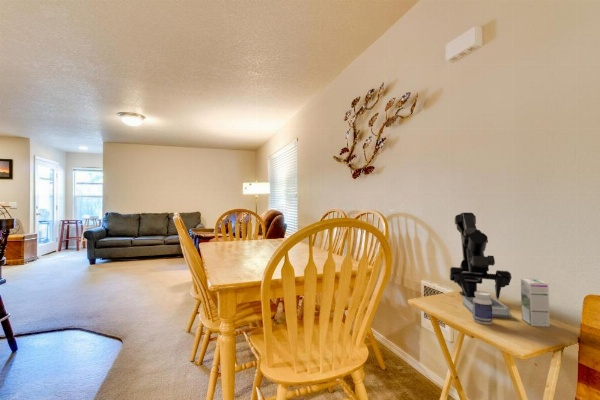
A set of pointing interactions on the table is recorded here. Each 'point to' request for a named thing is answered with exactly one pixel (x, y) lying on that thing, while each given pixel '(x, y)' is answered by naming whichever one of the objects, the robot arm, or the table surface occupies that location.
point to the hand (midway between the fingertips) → (482, 297)
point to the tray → (497, 307)
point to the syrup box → (535, 302)
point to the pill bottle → (482, 308)
